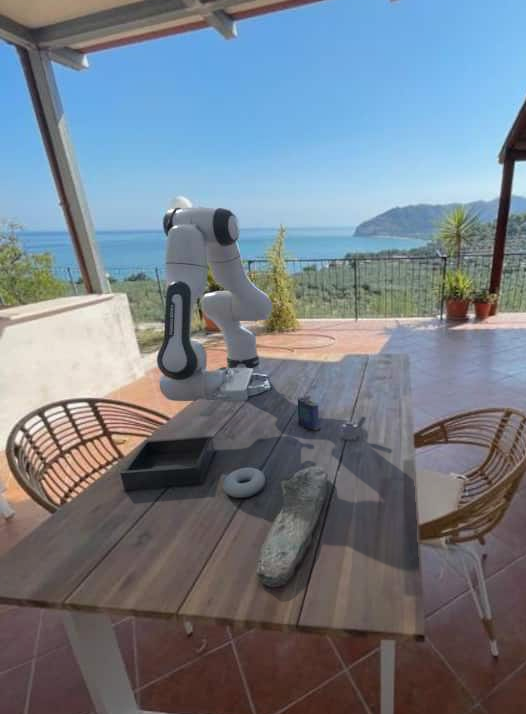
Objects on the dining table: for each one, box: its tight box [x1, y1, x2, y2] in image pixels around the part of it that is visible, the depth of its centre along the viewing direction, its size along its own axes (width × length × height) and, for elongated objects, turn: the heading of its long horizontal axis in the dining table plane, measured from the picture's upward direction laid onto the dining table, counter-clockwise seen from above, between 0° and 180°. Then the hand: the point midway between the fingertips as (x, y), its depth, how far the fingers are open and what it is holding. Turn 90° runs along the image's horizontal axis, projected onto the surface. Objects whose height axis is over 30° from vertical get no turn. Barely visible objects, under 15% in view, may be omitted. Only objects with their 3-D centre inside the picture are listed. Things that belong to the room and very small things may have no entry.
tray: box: [119, 435, 216, 491], centre depth 102 cm, size 16×18×5 cm
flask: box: [297, 395, 320, 432], centre depth 124 cm, size 9×3×11 cm, turn 47°
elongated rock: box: [256, 465, 329, 588], centre depth 84 cm, size 35×5×10 cm
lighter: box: [342, 413, 367, 441], centre depth 118 cm, size 7×2×8 cm, turn 87°
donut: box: [222, 467, 266, 499], centre depth 95 cm, size 10×3×10 cm
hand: (266, 382), depth 119 cm, fingers open, 8 cm apart
